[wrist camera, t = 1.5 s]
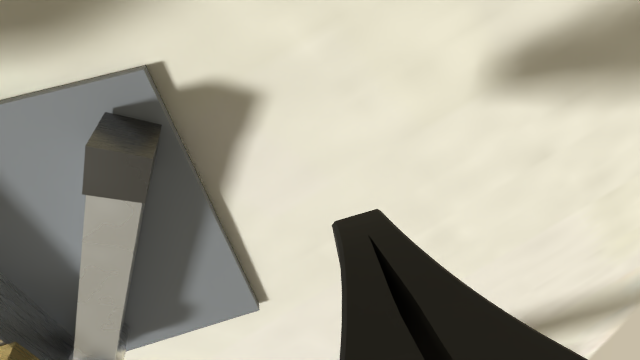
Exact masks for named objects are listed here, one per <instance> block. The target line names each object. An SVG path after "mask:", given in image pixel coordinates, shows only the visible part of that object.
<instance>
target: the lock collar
mask: <svg viewBox="0 0 640 360" xmlns="http://www.w3.org/2000/svg"><path fill="white" fill-rule="evenodd" d="M0 360H40V359H39V358H37V357H36V356H35V355H33V354H32V353H30V352H29V351H28V350H26V349H25V348H24V347H22V346H21V345H20V344H18V343H17V342H13V343H10V344H6V345H3V346H0Z"/></svg>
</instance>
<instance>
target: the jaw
mask: <svg viewBox="0 0 640 360" xmlns="http://www.w3.org/2000/svg"><path fill="white" fill-rule="evenodd" d="M161 127H162V125H161V124H157V123H152V122H148V121H144V120H139V119H135V118H130V117H126V116H121V115H117V114H113V113H108V112H105V113H104V115H103V116H102V118H101V120H100V121H99V123H98V125H97V127H96V128H95V130H94V132H93V134H92V135H91V137H90V139H89V140H88V142H87V144H86V146H85V158H84V172H83V187H82V195H86V201H85V214H84V226H83V239H82V252H81V265H80V278H79V290H78V303H77V316H76V329H75V341H74V344H73V347H72V350H71V353H70V356H69V359H68V360H124V356H125V351H126V346H127V341H128V337H129V331H130V330H129V327H128V326H127V325H126V324H125V323H124V317H125V311H126V306H127V300H128V295H129V289H130V284H131V278H132V273H133V267H134V262H135V256H136V250H137V245H138V239H139V234H140V228H141V223H142V217H143V212H144V206H145V201H146V197H147V193H148V189H149V185H150V181H151V177H152V173H153V169H154V165H155V160H156V154H157V149H158V143H159V138H160V133H161Z"/></svg>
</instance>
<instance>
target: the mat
mask: <svg viewBox="0 0 640 360" xmlns="http://www.w3.org/2000/svg"><path fill="white" fill-rule="evenodd" d="M105 112H108V113H113V114H117V115H121V116H126V117H130V118H135V119H139V120H144V121H148V122H152V123H157V124H161V125H162V127H161V133H160V138H159V143H158V149H157V154H156V160H155V165H154V169H153V173H152V177H151V181H150V185H149V189H148V193H147V197H146V201H145V206H144V212H143V217H142V223H141V228H140V234H139V239H138V245H137V250H136V256H135V262H134V267H133V273H132V278H131V284H130V289H129V295H128V300H127V306H126V311H125V317H124V323H125V324H126V325H127V326H128V327H129V330H130V331H129V337H128V341H127V346H126V351H129V350H132V349H136V348H139V347H142V346H145V345H148V344H152V343H155V342H158V341H161V340H165V339H168V338H171V337H174V336H178V335H181V334H184V333H187V332H191V331H194V330H197V329H200V328H203V327H207V326H210V325H213V324H216V323H220V322H223V321H226V320H229V319H233V318H236V317H239V316H242V315H246V314H249V313H252V312H255V311H258V310H259V303H258V301H257V299H256V297H255V295H254V293H253V291H252V289H251V286H250V284H249V282H248V280H247V278H246V276H245V274H244V272H243V270H242V267H241V265H240V263H239V261H238V259H237V257H236V255H235V253H234V251H233V248H232V246H231V244H230V242H229V240H228V238H227V236H226V234H225V232H224V229H223V227H222V225H221V223H220V221H219V219H218V217H217V215H216V213H215V211H214V208H213V206H212V204H211V202H210V200H209V198H208V196H207V194H206V192H205V189H204V187H203V185H202V183H201V181H200V179H199V177H198V175H197V173H196V170H195V168H194V166H193V164H192V162H191V160H190V158H189V156H188V154H187V151H186V149H185V147H184V145H183V143H182V141H181V139H180V137H179V135H178V133H177V130H176V128H175V126H174V124H173V122H172V120H171V118H170V116H169V114H168V111H167V109H166V107H165V105H164V103H163V101H162V99H161V97H160V95H159V92H158V90H157V88H156V86H155V84H154V82H153V80H152V78H151V76H150V73H149V71H148V69H147V67H146V65H145V66H141V67H137V68H133V69H129V70H124V71H120V72H116V73H112V74H108V75H104V76H100V77H96V78H91V79H87V80H83V81H79V82H75V83H71V84H67V85H62V86H58V87H54V88H50V89H46V90H42V91H38V92H33V93H29V94H25V95H21V96H17V97H13V98H9V99H5V100H0V273H2V274H3V275H4V276H5V277H6V278H7V279H8V280H10V281H11V282H12V283H13V284H14V285H15V286H16V287H18V288H19V289H20V290H21V291H22V292H23V293H24V294H26V295H27V296H28V297H29V298H30V299H31V300H32V301H34V302H35V303H36V304H37V305H38V306H39V307H41V308H42V309H43V310H44V311H45V312H46V313H47V314H49V315H50V316H51V317H52V318H53V319H54V320H55V321H57V322H58V323H59V324H60V325H61V326H62V327H63V328H65V329H66V330H67V331H68V332H69V333H70V334H71V335H73V336H74V337H75V329H76V316H77V303H78V290H79V278H80V265H81V252H82V239H83V226H84V214H85V201H86V195H82V187H83V172H84V158H85V146H86V144H87V142H88V140H89V139H90V137H91V135H92V134H93V132H94V130H95V128H96V127H97V125H98V123H99V121H100V120H101V118H102V116H103V115H104V113H105ZM126 351H125V352H126Z"/></svg>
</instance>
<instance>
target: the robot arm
mask: <svg viewBox="0 0 640 360" xmlns="http://www.w3.org/2000/svg"><path fill="white" fill-rule="evenodd" d="M332 228H333V233H334V238H335V242H336V247H337V252H338V257H339V262H340V267H341V281H342V331H341V349H340V360H587V359H586V358H584V357H582V356H580V355H579V354H577V353H575V352H573V351H571V350H570V349H568V348H566V347H564V346H562V345H561V344H559V343H557V342H555V341H553V340H552V339H550V338H548V337H546V336H545V335H543V334H541V333H539V332H537V331H536V330H534V329H532V328H531V327H529V326H527V325H526V324H524V323H523V322H521V321H519V320H518V319H516V318H515V317H513V316H511V315H510V314H508V313H507V312H505V311H504V310H502V309H500V308H499V307H497V306H496V305H494V304H493V303H491V302H490V301H488V300H487V299H485V298H484V297H483V296H481V295H480V294H478V293H477V292H475V291H474V290H473V289H471V288H470V287H468V286H467V285H466V284H464V283H463V282H462V281H460V280H459V279H458V278H456V277H455V276H454V275H452V274H451V273H450V272H449V271H447V270H446V269H445V268H443V267H442V266H441V265H440V264H438V263H437V262H436V261H435V260H434V259H432V258H431V257H430V256H429V255H428V254H426V253H425V252H424V251H423V250H422V249H420V248H419V247H418V246H417V245H416V244H415V243H414V242H412V241H411V240H410V239H409V238H408V237H407V236H406V235H405V234H404V233H403V232H402V231H400V230H399V229H398V228H397V227H396V226H395V225H394V224H393V223H392V222H391V221H390V220H389V219H388V218H387V217H386V216H385V215H384V214H383V213H382V212H381V211H380V210H378V209H375V210H372V211H369V212H365V213H362V214H358V215H355V216H351V217H348V218H345V219H341V220H338V221H335V222H334V223H333V225H332Z"/></svg>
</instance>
